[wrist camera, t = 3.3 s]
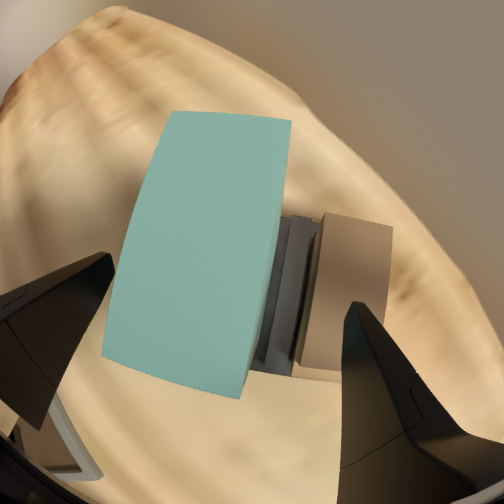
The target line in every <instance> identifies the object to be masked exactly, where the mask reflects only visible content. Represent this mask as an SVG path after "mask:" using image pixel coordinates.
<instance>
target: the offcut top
mask: <svg viewBox="0 0 504 504" xmlns="http://www.w3.org/2000/svg"><path fill="white" fill-rule="evenodd" d="M392 234H393V227H391V226H387V225H382V224H378V223H374V222H369V221H365V220H360V219H355V218H351V217H346V216H341V215H336V214H331V213H326V212H325V214H324V216H323V218H322V219H321V226H320V234H319V241H318V248H317V255H316V262H315V269H314V275H313V282H312V288H311V294H310V299H309V305H308V311H307V316H306V322H305V327H304V332H303V337H302V342H301V347H300V352H299V356H298V361H297V363H298V364H299V366H300V367H307V368H314V369H322V370H331V371H340V372H341V355H342V342H343V324H344V319H345V316H346V314H347V312H348V309H349V307H350V305H351V303H352V302H353V301H359V302H364V303H365V304H366V305H367V307H368V308H369V309H370V310H371V312H372V313H373V314H374V315H375V317H376V318H377V319H378V321H379V322H380V323H381V324H382V326H383V324H384V317H385V311H386V303H387V296H388V287H389V277H390V266H391V253H392Z"/></svg>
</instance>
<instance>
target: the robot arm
mask: <svg viewBox="0 0 504 504" xmlns="http://www.w3.org/2000/svg"><path fill="white" fill-rule="evenodd" d="M114 274H115V269H114V264H113V260H112V256H111V254H110V253H107V252H103V251H102V252H98V253H96V254H94V255H91V256H89V257H86V258H84V259H82V260H79V261H77V262H74V263H72V264H70V265H68V266H65V267H63V268H61V269H58V270H56V271H54V272H52V273H49V274H47V275H45V276H43V277H41V278H38V279H36V280H34V281H32V282H30V283H28V284H25V285H23V286H21V287H19V288H17V289H15V290H12V291H10V292H8V293H5V294H3V295H1V296H0V504H99V503H98V502H96V501H94V500H92V499H90V498H89V497H87V496H85V495H84V494H82V493H80V492H79V491H77V490H75V489H74V488H72V487H71V486H69V485H68V484H66V483H65V482H63V481H62V480H60V479H59V478H57V477H56V476H54V475H53V474H52V473H50V472H49V471H48V470H46V469H45V468H44V467H42V466H41V465H40V464H38V463H37V462H36V461H35V460H33V459H32V458H31V457H30V456H29V455H27V454H26V453H25V452H24V451H25V449H24V445H23V441H22V436H21V431H20V426H19V425H18V424H17V423H16V422H17V420H18V418H19V416H20V417H21V418H22V419H23V420H25V421H26V422H27V423H28V424H30V425H31V426H32V427H34V428H35V429H36V430H38V431H40V430H41V428H42V425H43V422H44V420H45V417H46V415H47V412H48V410H49V407H50V405H51V402H52V400H53V398H54V395H55V393H56V391H57V390H56V389H57V388H58V386H59V384H60V382H61V379H62V377H63V375H64V373H65V371H66V369H67V367H68V365H69V363H70V360H71V358H72V356H73V354H74V352H75V351H76V349H77V347H78V345H79V343H80V341H81V339H82V337H83V335H84V333H85V332H86V330H87V328H88V326H89V324H90V322H91V321H92V319H93V317H94V315H95V314H96V312H97V310H98V308H99V306H100V304H101V302H102V300H103V298H104V296H105V294H106V292H107V290H108V288H109V285H110V283H111V281H112V279H113V277H114ZM341 377H342V435H341V459H340V470H341V471H340V473H339V486H338V496H337V504H504V444H502V443H499V442H495V441H491V440H488V439H484V438H481V437H477V436H474V435H471V434H469V433H467V432H466V431H464V430H463V429H462V428H461V427H460V426H459V425H458V424H457V423H456V422H455V421H454V419H453V418H452V417H451V416H450V414H449V413H448V412H447V411H446V409H445V408H444V407H443V406H442V405H441V403H440V402H439V401H438V400H437V398H436V397H435V396H434V395H433V393H432V392H431V391H430V389H429V388H428V387H427V385H426V384H425V383H424V381H423V380H422V379H421V377H420V376H419V374H418V373H416V370H415V369H414V367H413V366H412V365H411V363H410V362H409V360H408V359H407V358H406V356H405V355H404V354H403V352H402V351H401V350H400V348H399V347H398V346H397V344H396V343H395V342H394V340H393V339H392V338H391V336H390V335H389V334H388V332H387V331H386V330H385V328H384V327H383V326H382V324H381V323H380V322H379V321H378V319H377V318H376V317H375V315H374V314H373V313H372V312H371V310H370V309H369V308H368V307H367V305H366V304H365V303H364V302H359V301H353V302H352V303H351V305H350V307H349V309H348V312H347V314H346V316H345V319H344V324H343V342H342V355H341Z"/></svg>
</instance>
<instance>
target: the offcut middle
mask: <svg viewBox="0 0 504 504" xmlns="http://www.w3.org/2000/svg"><path fill="white" fill-rule="evenodd" d="M318 241H319V234H318V233H317V234H316V235H315V237H314V239H313V245H312V252H311V259H310V265H309V271H308V278H307V284H306V290H305V295H304V301H303V307H302V312H301V318H300V323H299V328H298V333H297V338H296V343H295V348H294V353H293V357H292V362H291V367H290V371H289V373H290V375H291V377H297V378H304V379H312V380H320V381H330V382H340V383H342V377H341V372H340V371H331V370H322V369H314V368H307V367H300V366H299V364H298V363H297V361H298V356H299V352H300V347H301V342H302V337H303V332H304V327H305V322H306V316H307V311H308V305H309V299H310V294H311V288H312V282H313V275H314V269H315V262H316V255H317V248H318Z"/></svg>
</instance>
